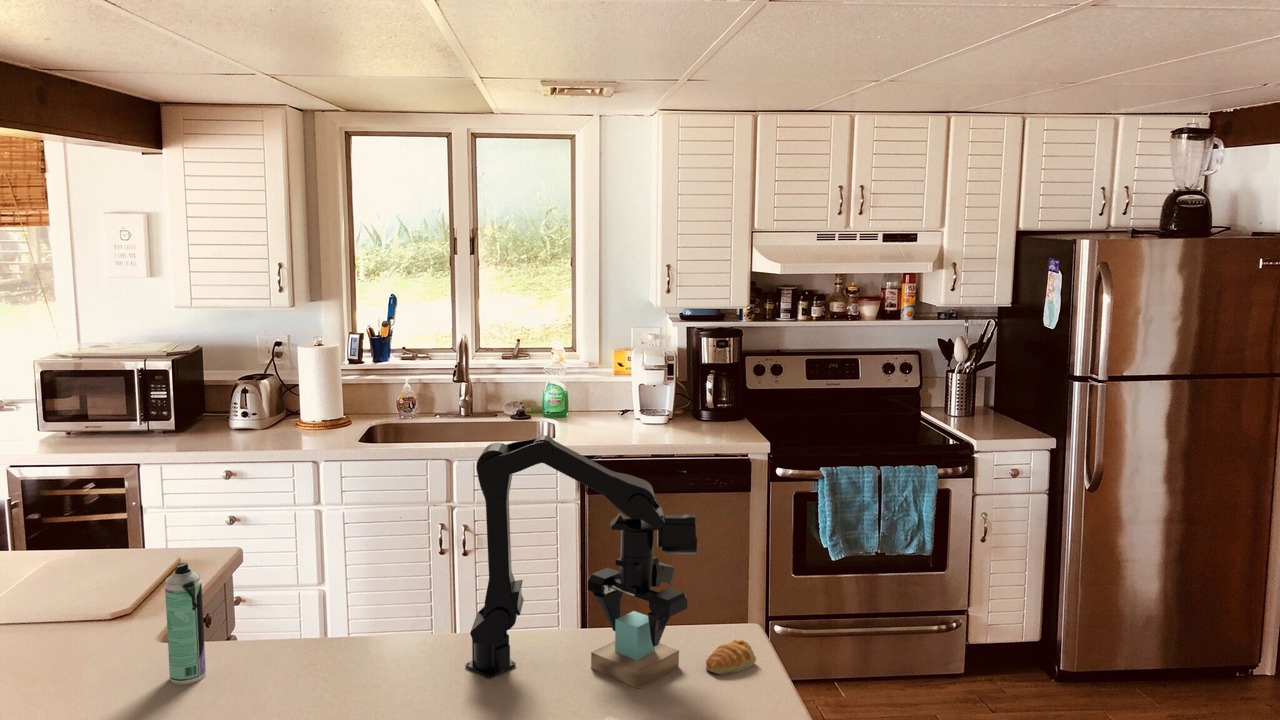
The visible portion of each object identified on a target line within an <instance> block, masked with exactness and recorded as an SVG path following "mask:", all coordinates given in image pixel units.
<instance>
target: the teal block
mask: <svg viewBox="0 0 1280 720" xmlns="http://www.w3.org/2000/svg"><path fill="white" fill-rule="evenodd" d="M614 633H615V635H614V641H615V652H617V653H619V654H622V655H624V656H627V657H629V658H632V659H634V660H639V659H641V658H642V657H644V656H646V655H648V654H650V653H652V652H654V651H655V647H654V646H653V645H652V641H651V634H650V627H649V619H648V614H643V613H641V612H638V611H635V610H632V611H631V612H629V613H627V614H624V615H622V616H620V618H618V619H615V631H614Z"/></svg>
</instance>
